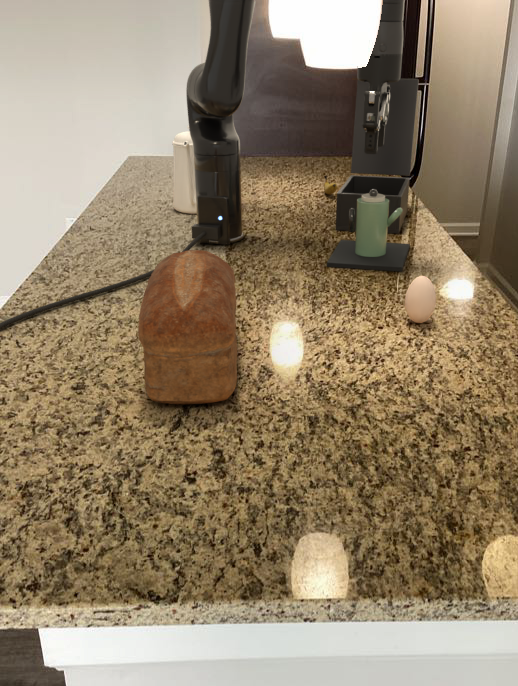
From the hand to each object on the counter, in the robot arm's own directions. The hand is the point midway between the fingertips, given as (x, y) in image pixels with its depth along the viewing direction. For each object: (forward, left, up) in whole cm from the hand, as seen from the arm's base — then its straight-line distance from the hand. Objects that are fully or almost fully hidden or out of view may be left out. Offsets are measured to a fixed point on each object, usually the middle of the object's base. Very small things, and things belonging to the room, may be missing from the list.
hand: (374, 149), depth 142 cm
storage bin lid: (+41, +3, -2) cm, 41 cm away
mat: (0, 0, -20) cm, 20 cm away
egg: (-33, -12, -20) cm, 40 cm away
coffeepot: (+29, +45, -20) cm, 57 cm away
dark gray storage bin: (+28, +3, -20) cm, 35 cm away
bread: (-55, +17, -20) cm, 61 cm away
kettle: (+1, 0, -19) cm, 19 cm away
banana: (+51, +17, -20) cm, 58 cm away
